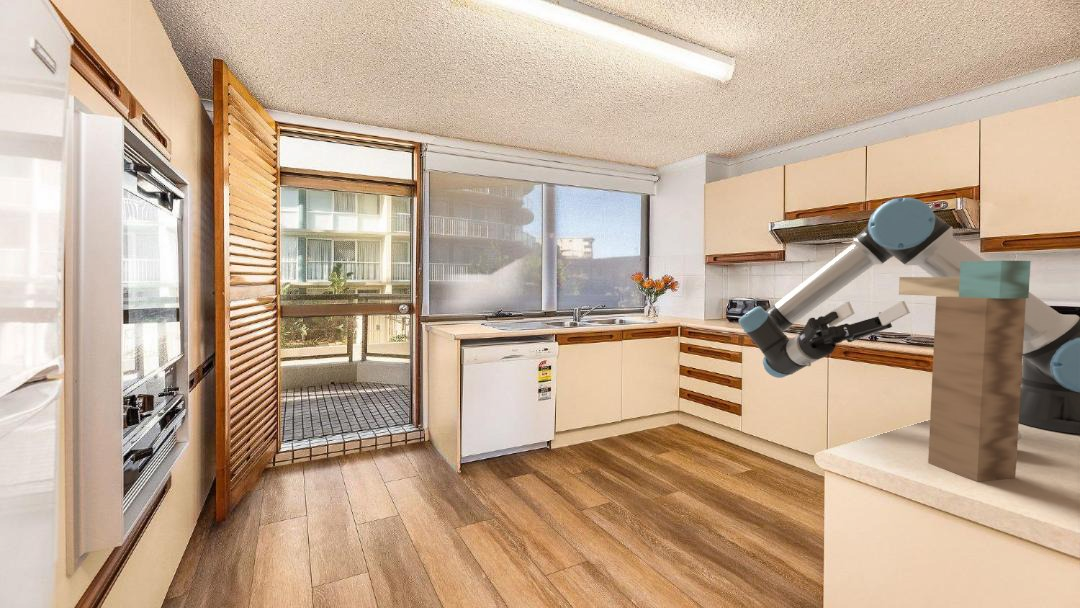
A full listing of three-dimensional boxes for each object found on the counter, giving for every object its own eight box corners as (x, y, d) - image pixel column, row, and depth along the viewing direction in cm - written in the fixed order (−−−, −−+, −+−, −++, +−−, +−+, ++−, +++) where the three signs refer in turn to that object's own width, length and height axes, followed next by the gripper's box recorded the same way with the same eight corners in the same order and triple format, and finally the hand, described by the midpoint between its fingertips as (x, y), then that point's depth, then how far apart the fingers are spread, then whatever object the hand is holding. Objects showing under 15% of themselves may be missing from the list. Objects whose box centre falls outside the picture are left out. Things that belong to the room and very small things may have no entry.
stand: (964, 459, 87) (972, 296, 85) (1015, 477, 79) (1025, 298, 77) (928, 462, 85) (936, 296, 83) (976, 481, 77) (986, 298, 76)
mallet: (918, 294, 94) (919, 264, 93) (1028, 298, 76) (1030, 260, 76) (893, 294, 92) (894, 263, 92) (999, 298, 75) (1001, 260, 75)
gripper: (859, 358, 118) (936, 322, 100) (771, 361, 113) (833, 324, 95) (848, 330, 121) (920, 291, 103) (761, 332, 117) (820, 291, 98)
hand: (878, 307), depth 99 cm, fingers open, 13 cm apart
